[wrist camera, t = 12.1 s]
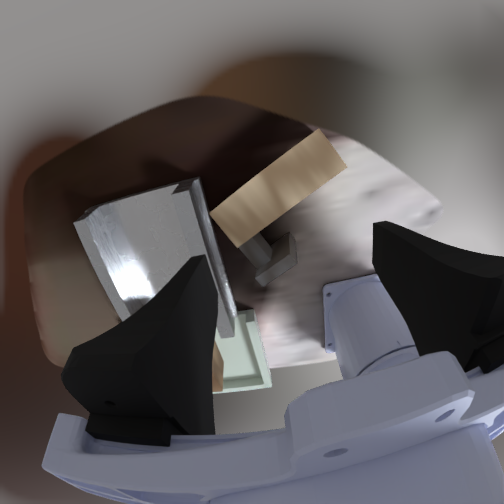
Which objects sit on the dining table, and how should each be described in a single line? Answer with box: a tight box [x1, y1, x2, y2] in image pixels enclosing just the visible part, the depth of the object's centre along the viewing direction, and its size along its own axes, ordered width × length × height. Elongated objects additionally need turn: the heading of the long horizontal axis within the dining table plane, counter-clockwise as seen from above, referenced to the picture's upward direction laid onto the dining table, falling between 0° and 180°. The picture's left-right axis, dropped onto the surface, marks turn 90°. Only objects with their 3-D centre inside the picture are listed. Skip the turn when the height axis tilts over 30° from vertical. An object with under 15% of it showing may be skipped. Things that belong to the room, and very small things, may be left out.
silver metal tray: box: [74, 177, 238, 339], centre depth 22 cm, size 13×10×3 cm
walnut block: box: [212, 341, 224, 392], centre depth 27 cm, size 4×4×4 cm
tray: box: [213, 309, 272, 394], centre depth 29 cm, size 11×13×2 cm
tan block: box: [209, 129, 347, 287], centre depth 19 cm, size 6×5×9 cm
